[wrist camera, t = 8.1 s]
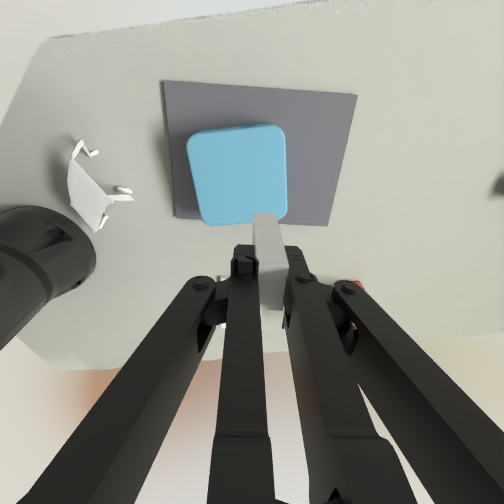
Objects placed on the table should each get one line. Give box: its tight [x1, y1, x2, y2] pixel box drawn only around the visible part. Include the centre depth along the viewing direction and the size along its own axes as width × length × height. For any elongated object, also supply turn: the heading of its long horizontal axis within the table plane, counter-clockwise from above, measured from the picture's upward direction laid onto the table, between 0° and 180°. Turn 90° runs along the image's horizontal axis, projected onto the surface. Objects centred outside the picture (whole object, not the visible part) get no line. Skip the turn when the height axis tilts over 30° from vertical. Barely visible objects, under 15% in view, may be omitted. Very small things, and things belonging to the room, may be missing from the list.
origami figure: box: [67, 139, 134, 233], centre depth 36 cm, size 12×8×5 cm
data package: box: [186, 123, 287, 226], centre depth 35 cm, size 12×4×12 cm
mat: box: [164, 81, 358, 226], centre depth 36 cm, size 24×18×1 cm
